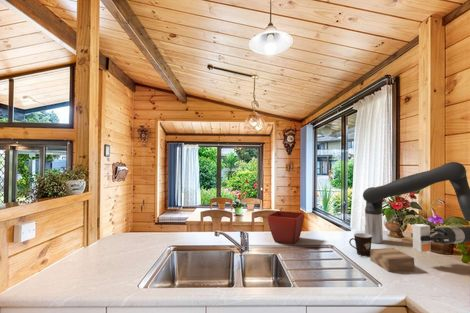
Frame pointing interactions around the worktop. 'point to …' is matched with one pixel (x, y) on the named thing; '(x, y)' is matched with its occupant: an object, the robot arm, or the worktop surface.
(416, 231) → the skincare box
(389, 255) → the walnut block
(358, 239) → the coffee mug
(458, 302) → the worktop surface
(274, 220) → the plant pot
